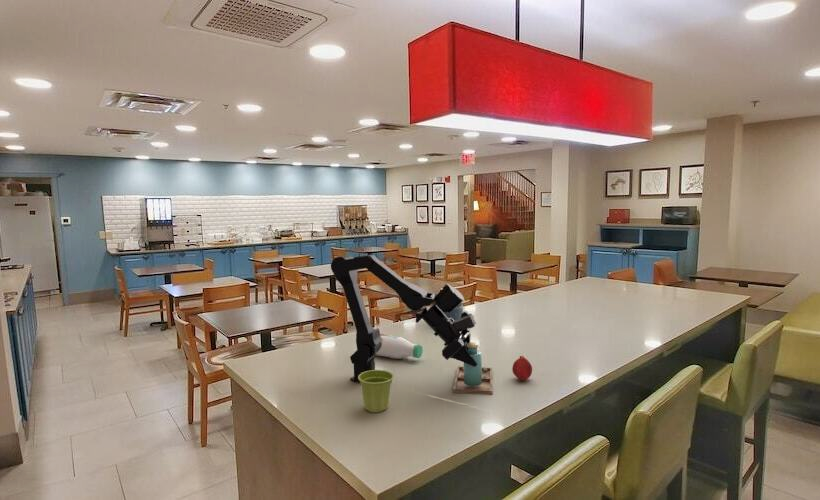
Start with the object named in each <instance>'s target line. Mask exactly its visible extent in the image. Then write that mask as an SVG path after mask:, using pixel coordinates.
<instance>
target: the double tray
mask: <svg viewBox="0 0 820 500" xmlns="http://www.w3.org/2000/svg"><path fill="white" fill-rule="evenodd" d="M493 388H494V386H493V367H483V366H482V384H481V385H478V386H469V385H466V384H464V365H463V366H462V365H461V366H460V365H459V366H457V368H456V373H455V377H454V383H453V388H452V392H453V393H462V394H476V395H478V394H479V395H493V394H494V393H493V390H494V389H493Z"/></svg>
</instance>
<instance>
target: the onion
mask: <svg viewBox="0 0 820 500" xmlns="http://www.w3.org/2000/svg"><path fill="white" fill-rule="evenodd" d="M511 367H512V368H511V370H512V373H513V375H514V376H515V377H516V378H517V379H518V380H519V381H526V380H528V379H529V378H530V377H531V376H532V374H533V367H532V364H531V363H530V361H529V360H528V359H527V358H525V356H524V355H522V354H521V355H519V358H517V359H516V360H514V362H513V364H512V366H511Z"/></svg>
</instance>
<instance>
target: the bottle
mask: <svg viewBox="0 0 820 500" xmlns="http://www.w3.org/2000/svg"><path fill="white" fill-rule="evenodd" d="M467 347H468V351H469V353H470V354H471V355H472V357H473V358H474V360H475V361H476V363H477V366H476V367H474V366H471V365H469V364H467V363H464V362H463V367H464V384H466V385H469V386H478V385H481V384H482V367H483V366H482V365H483V361H482V360H483V359H482V358H483V357H482V356H483V353H482V351H480V350H478V348H479V343H477V342H471V341H470V343H467Z"/></svg>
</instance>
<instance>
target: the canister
mask: <svg viewBox="0 0 820 500" xmlns="http://www.w3.org/2000/svg"><path fill="white" fill-rule="evenodd" d="M438 293H439V292H437V293H436V294H438ZM436 306H437V305H436ZM437 307H438V306H437ZM438 308H439V307H438ZM439 309H440V308H439ZM441 311H442V310H441ZM442 312H443V311H442ZM463 312H464V305H463V301H462V302H461V303H460V304H459V305H458V306H457V307H456V308H455V309H454V310H453V311H452V312H451V313H449V312H446V313H445V312H443V313H444V314H445V315H446V317H448V318H450V317H451V318H453V319H454V320H457V319H459V318H461V314H462V313H463Z"/></svg>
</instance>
